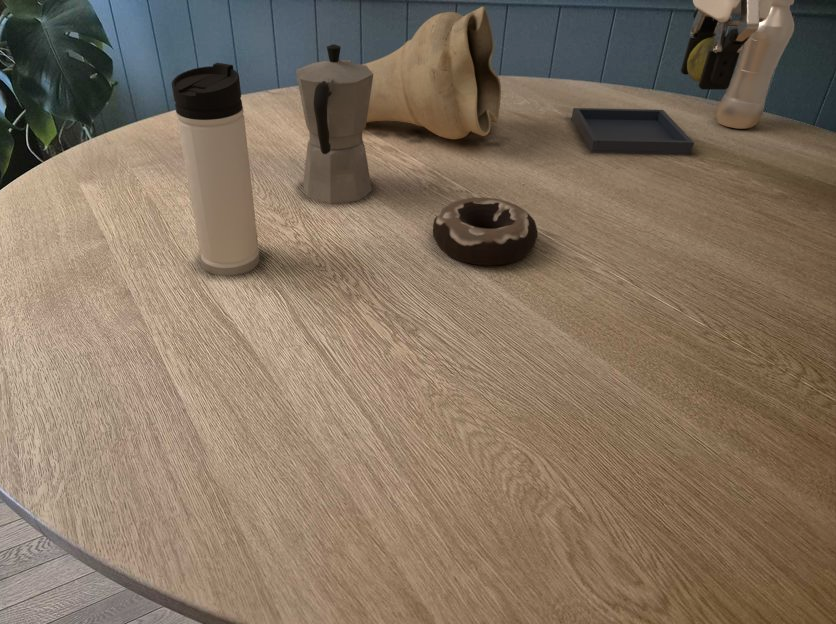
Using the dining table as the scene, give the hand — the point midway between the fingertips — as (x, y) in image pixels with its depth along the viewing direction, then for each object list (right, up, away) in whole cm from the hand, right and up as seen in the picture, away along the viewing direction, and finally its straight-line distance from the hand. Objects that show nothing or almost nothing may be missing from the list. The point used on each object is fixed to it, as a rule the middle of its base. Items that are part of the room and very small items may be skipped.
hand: (703, 79), depth 77 cm
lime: (0, -1, 0) cm, 1 cm away
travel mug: (-54, -22, -4) cm, 59 cm away
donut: (-26, -20, -1) cm, 33 cm away
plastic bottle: (+21, +5, +31) cm, 37 cm away
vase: (-33, +3, +28) cm, 43 cm away
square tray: (+1, +2, +26) cm, 27 cm away
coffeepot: (-44, -11, +10) cm, 46 cm away
